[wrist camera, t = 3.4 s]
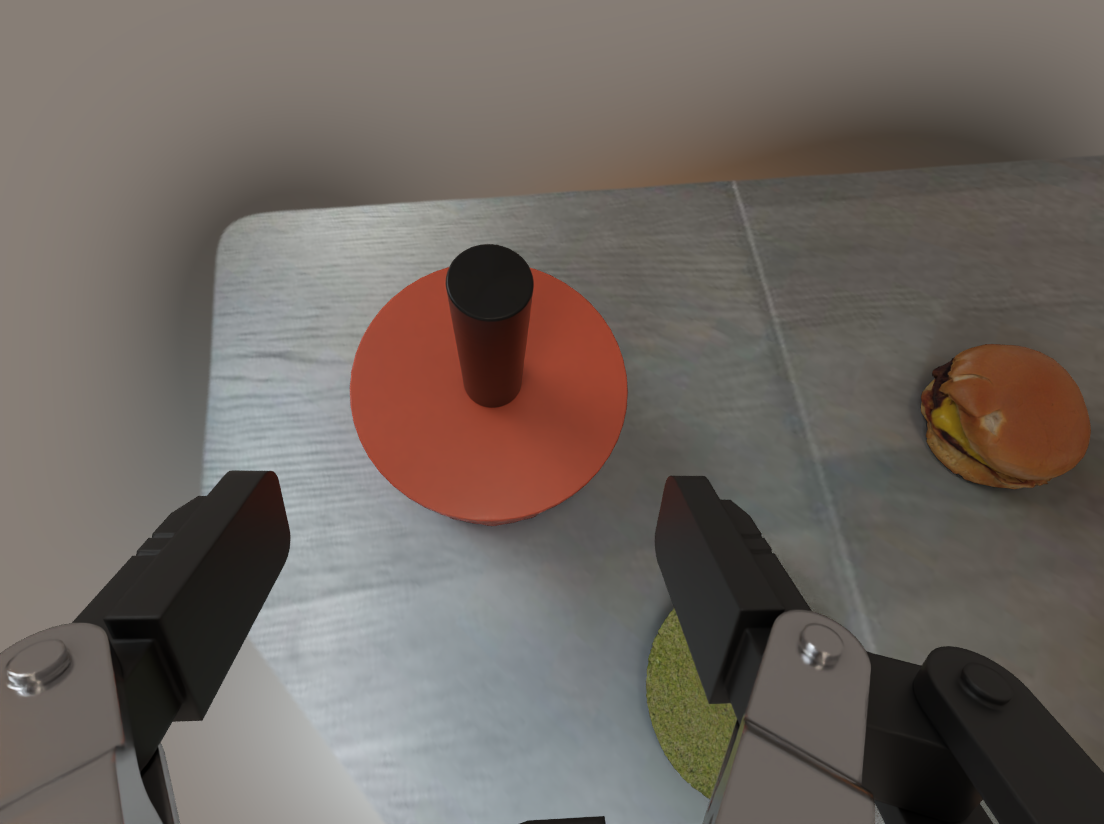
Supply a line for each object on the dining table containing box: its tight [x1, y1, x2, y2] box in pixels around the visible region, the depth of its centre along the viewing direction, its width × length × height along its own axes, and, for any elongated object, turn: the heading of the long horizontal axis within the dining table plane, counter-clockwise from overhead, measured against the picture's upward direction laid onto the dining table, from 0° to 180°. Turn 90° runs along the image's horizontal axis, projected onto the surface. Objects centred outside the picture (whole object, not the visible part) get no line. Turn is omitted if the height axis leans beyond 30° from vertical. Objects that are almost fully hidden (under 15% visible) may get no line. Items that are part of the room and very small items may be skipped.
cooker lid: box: [350, 244, 628, 522], centre depth 21 cm, size 13×13×10 cm
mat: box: [646, 608, 737, 799], centre depth 28 cm, size 11×11×2 cm
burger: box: [921, 344, 1091, 489], centre depth 34 cm, size 10×9×5 cm
